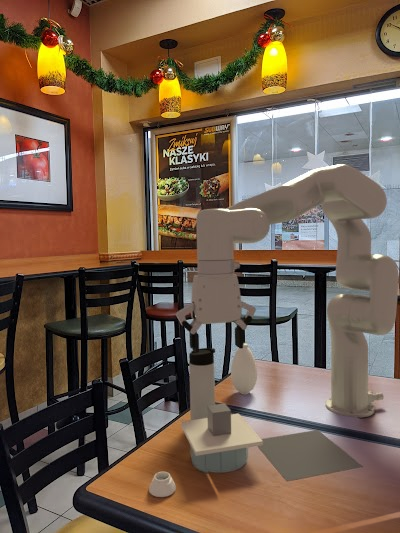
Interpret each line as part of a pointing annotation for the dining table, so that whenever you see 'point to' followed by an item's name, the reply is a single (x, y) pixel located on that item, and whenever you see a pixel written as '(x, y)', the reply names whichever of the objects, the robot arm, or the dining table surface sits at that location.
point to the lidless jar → (162, 485)
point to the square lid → (219, 431)
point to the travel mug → (201, 382)
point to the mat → (306, 455)
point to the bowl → (220, 460)
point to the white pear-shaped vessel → (244, 370)
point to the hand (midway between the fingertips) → (217, 349)
